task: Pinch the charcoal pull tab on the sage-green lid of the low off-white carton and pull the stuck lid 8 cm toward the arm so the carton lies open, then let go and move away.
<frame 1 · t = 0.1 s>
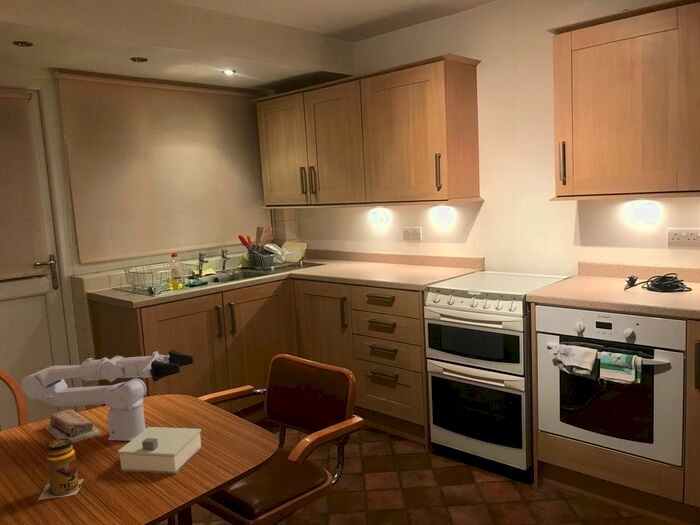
hand: (186, 363, 160), 22 cm above the table, tool horizontal, fingers open, 7 cm apart
carton: (162, 459, 151), on the table
lid: (160, 436, 150), point 6 cm above the table, slide at 0.0 cm
condiment: (61, 490, 138), on the table
packaged product: (72, 433, 173), on the table
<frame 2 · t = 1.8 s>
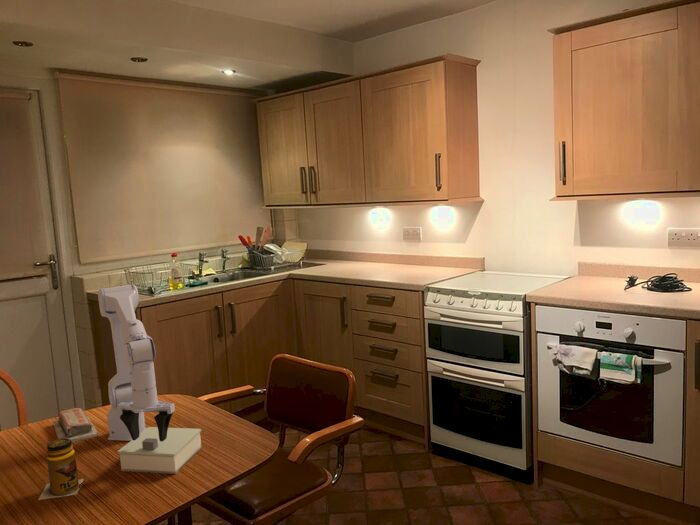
hand: (149, 439, 145), 8 cm above the table, tool pointing down, fingers open, 7 cm apart
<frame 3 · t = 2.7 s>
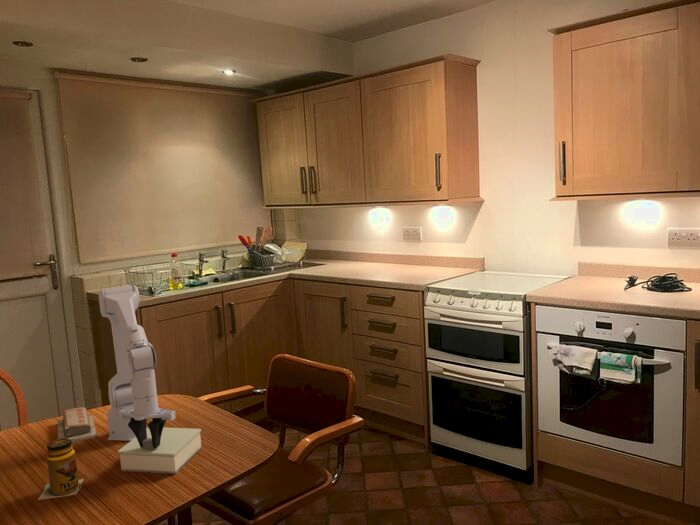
hand: (150, 446, 145), 6 cm above the table, tool pointing down, fingers closed on lid, 3 cm apart
lid: (160, 436, 150), point 6 cm above the table, slide at 0.0 cm, touching gripper
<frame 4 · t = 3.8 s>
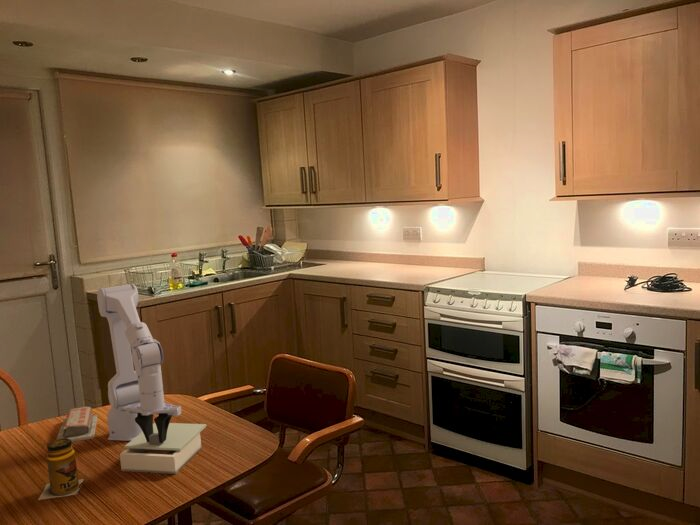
hand: (156, 440, 148), 6 cm above the table, tool pointing down, fingers closed on lid, 3 cm apart
lid: (166, 431, 153), point 6 cm above the table, slide at 3.0 cm, touching gripper
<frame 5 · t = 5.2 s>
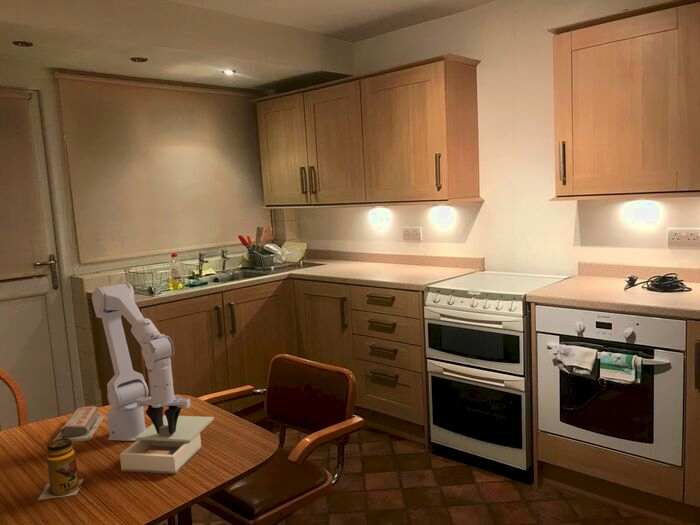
hand: (166, 432, 153), 6 cm above the table, tool pointing down, fingers closed on lid, 3 cm apart
lid: (175, 424, 158), point 6 cm above the table, slide at 7.9 cm, touching gripper
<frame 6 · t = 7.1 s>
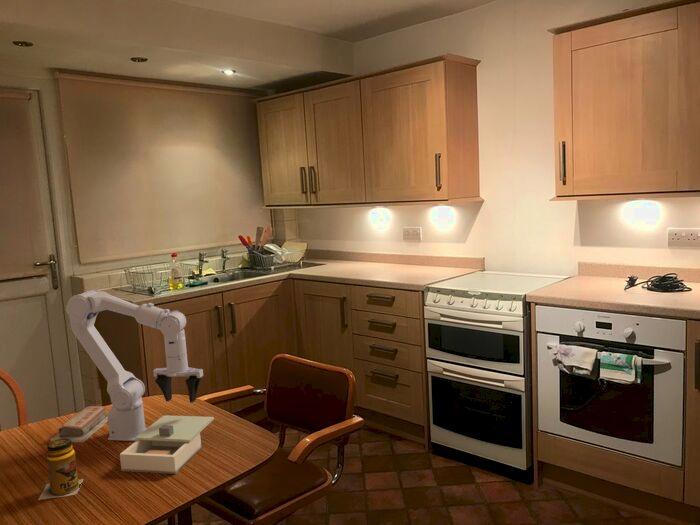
hand: (180, 400, 165), 10 cm above the table, tool pointing down, fingers open, 7 cm apart
lid: (175, 424, 158), point 6 cm above the table, slide at 8.0 cm
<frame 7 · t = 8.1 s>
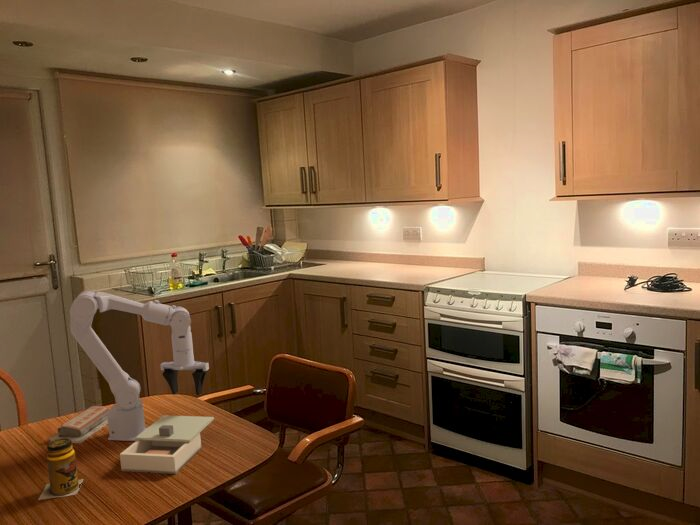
hand: (187, 393, 171), 10 cm above the table, tool pointing down, fingers open, 7 cm apart
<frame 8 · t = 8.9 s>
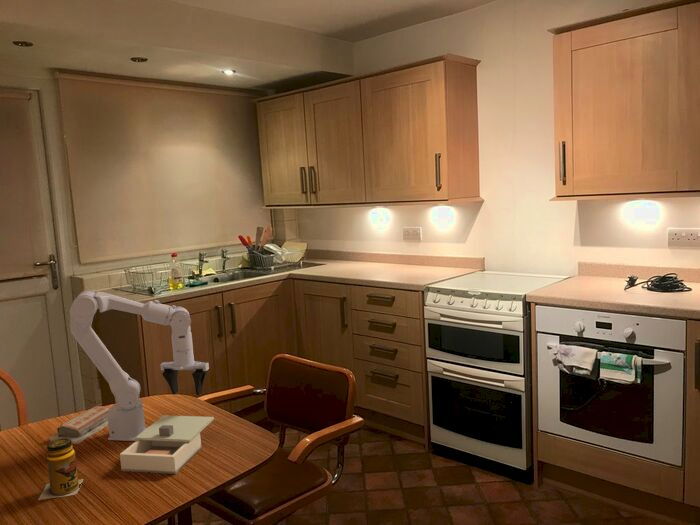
hand: (187, 393, 171), 10 cm above the table, tool pointing down, fingers open, 7 cm apart
at the end: lid slide at 8.0 cm; the gripper is holding nothing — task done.
